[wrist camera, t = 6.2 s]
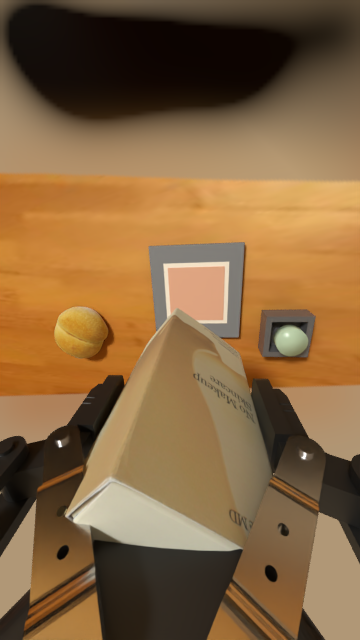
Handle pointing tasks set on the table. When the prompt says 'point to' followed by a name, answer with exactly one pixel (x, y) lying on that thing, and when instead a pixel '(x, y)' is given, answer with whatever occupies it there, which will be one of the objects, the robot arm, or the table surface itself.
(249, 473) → the skincare box
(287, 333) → the button
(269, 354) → the button housing
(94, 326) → the bread roll
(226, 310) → the picture board
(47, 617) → the robot arm
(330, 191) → the table surface
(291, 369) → the table surface
